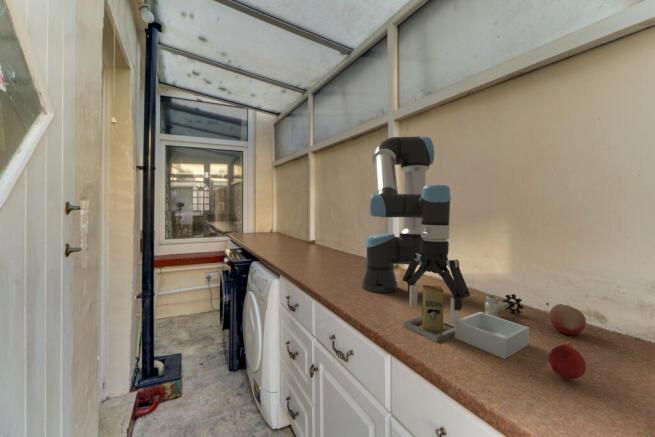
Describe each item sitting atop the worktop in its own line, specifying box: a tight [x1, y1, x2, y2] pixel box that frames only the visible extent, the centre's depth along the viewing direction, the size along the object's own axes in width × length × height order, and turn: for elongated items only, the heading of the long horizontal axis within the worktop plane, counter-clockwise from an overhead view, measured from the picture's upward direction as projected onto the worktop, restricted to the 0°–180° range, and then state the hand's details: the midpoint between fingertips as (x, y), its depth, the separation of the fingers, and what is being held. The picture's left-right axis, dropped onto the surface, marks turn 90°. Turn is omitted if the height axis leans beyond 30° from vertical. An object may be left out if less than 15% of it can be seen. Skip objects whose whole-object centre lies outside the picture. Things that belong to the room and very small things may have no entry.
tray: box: [454, 311, 530, 360], centre depth 75 cm, size 13×13×5 cm
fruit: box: [548, 303, 587, 336], centre depth 80 cm, size 8×8×8 cm
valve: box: [484, 293, 524, 318], centre depth 92 cm, size 7×7×12 cm
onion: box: [548, 341, 587, 382], centre depth 58 cm, size 6×6×8 cm
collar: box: [402, 315, 455, 343], centre depth 82 cm, size 11×11×1 cm
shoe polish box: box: [421, 284, 445, 334], centre depth 81 cm, size 5×5×12 cm
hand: (432, 313), depth 81 cm, fingers open, 13 cm apart
